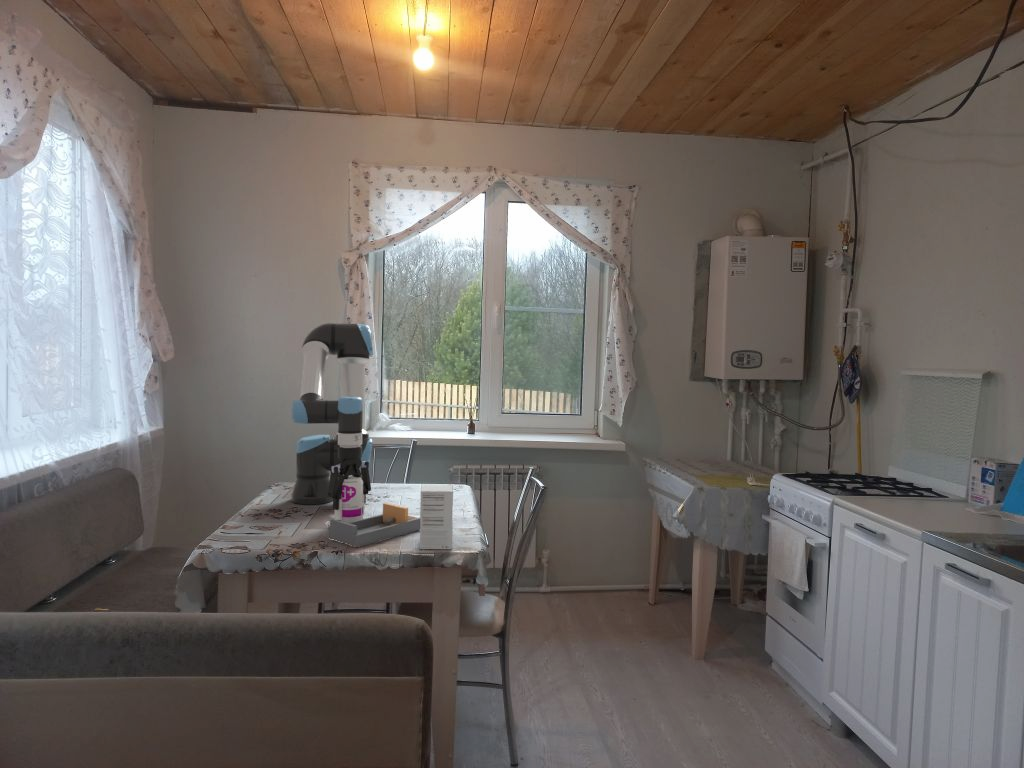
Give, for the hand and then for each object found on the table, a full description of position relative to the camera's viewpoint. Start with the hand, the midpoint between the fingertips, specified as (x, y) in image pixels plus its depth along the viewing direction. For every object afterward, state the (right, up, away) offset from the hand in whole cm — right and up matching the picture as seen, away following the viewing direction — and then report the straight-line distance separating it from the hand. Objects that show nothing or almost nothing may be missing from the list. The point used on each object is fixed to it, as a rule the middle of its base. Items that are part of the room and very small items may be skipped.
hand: (349, 516), depth 216 cm
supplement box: (+30, -4, -20) cm, 36 cm away
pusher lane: (+11, -3, -10) cm, 15 cm away
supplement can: (0, -2, 0) cm, 2 cm away
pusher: (+14, -2, -6) cm, 16 cm away
